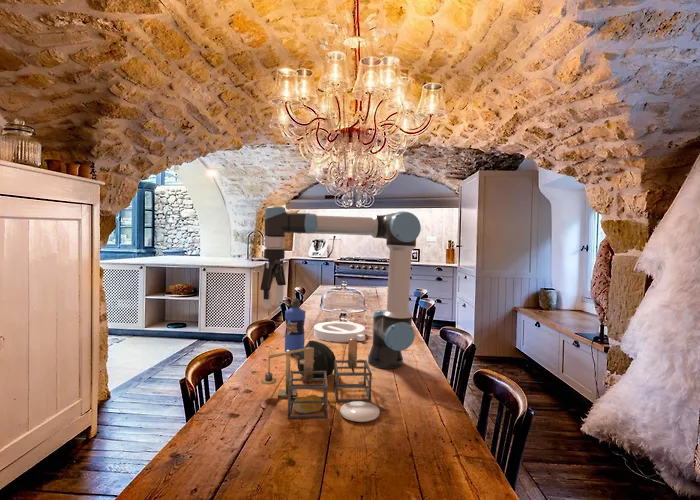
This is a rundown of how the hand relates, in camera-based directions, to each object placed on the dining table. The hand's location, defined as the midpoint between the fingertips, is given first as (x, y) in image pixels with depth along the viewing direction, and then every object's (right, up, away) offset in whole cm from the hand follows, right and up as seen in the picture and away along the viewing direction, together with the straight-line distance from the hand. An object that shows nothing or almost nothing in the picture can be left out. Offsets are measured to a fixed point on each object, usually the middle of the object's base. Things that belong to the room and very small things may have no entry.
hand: (273, 305), depth 146 cm
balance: (+7, -29, -14) cm, 33 cm away
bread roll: (+15, -30, -23) cm, 41 cm away
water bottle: (+3, -27, +35) cm, 44 cm away
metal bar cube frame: (+29, -29, -11) cm, 43 cm away
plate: (+32, -30, -26) cm, 51 cm away
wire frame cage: (+15, -29, -23) cm, 40 cm away
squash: (+16, -29, +4) cm, 33 cm away
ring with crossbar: (+23, -27, +68) cm, 77 cm away
